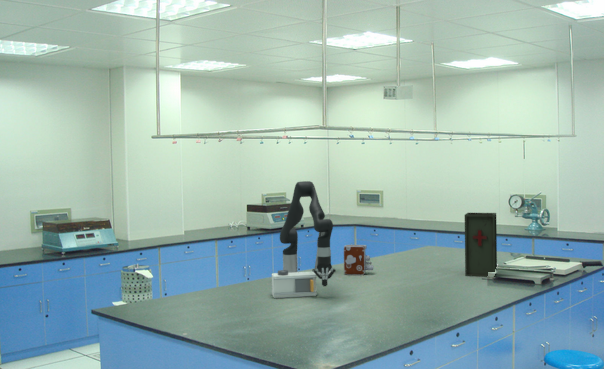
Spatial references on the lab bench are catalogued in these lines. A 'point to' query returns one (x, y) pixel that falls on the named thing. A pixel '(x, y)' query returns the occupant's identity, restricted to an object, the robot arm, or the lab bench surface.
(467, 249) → the first aid box
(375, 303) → the lab bench surface
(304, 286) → the side door
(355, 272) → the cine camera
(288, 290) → the camera housing
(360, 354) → the lab bench surface
